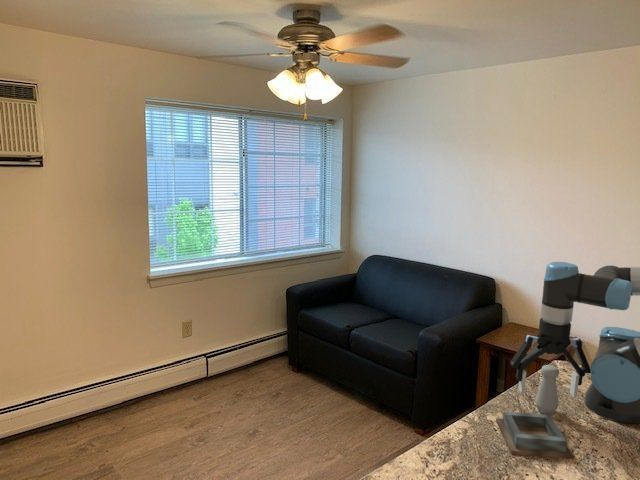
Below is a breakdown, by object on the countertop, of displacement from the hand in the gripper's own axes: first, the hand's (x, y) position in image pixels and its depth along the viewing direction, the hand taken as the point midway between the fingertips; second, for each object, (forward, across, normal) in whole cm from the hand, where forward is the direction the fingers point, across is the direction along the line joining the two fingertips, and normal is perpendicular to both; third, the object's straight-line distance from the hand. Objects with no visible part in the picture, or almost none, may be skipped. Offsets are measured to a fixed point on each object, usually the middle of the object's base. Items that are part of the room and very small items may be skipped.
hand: (546, 393), depth 128 cm
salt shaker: (+5, 0, 0) cm, 5 cm away
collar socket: (+5, +8, +14) cm, 17 cm away
